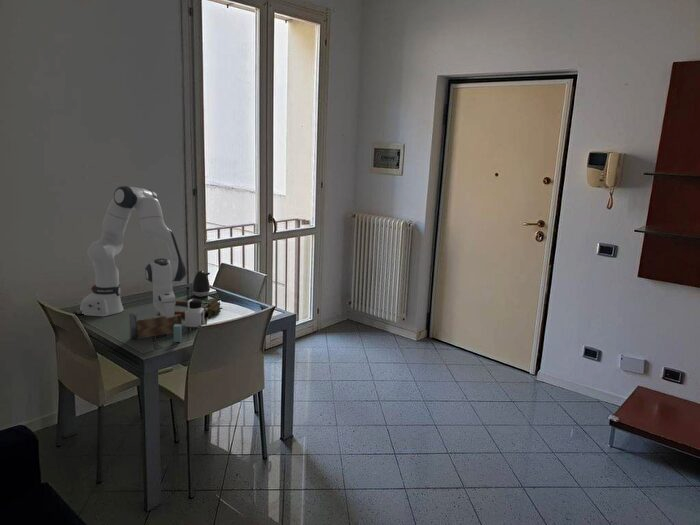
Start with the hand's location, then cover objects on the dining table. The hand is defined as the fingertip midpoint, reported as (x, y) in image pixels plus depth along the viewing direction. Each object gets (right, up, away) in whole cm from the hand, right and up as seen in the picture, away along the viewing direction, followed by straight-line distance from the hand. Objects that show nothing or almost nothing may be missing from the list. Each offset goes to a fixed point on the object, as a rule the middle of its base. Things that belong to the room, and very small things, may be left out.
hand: (163, 321), depth 247 cm
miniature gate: (+4, +1, +33) cm, 33 cm away
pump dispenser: (0, +8, +61) cm, 62 cm away
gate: (-1, -6, -2) cm, 6 cm away
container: (+11, -4, +14) cm, 18 cm away
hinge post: (-10, -7, -9) cm, 16 cm away
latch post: (+10, -8, -9) cm, 16 cm away
